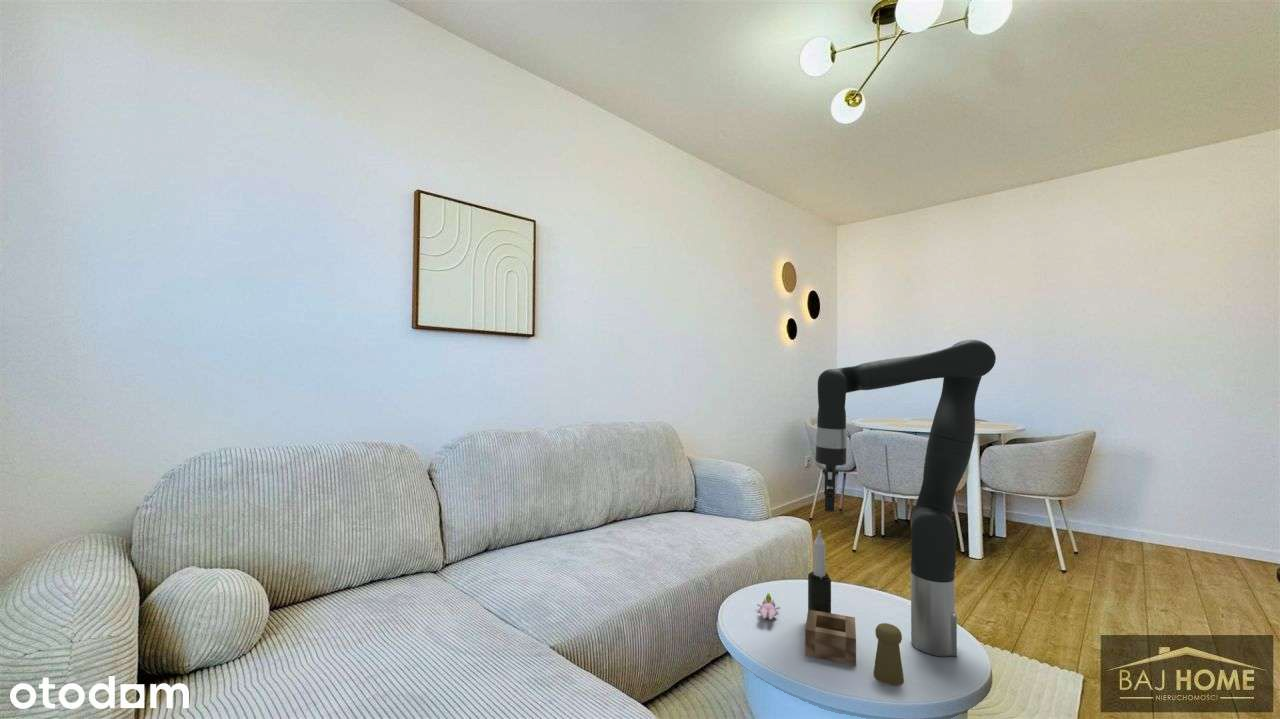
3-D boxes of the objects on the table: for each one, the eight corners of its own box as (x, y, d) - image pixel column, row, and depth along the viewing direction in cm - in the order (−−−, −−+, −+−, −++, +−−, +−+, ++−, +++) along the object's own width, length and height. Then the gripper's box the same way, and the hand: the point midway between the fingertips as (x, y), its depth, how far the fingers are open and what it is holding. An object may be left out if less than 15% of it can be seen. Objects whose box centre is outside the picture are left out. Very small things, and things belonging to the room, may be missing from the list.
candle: (826, 622, 136) (826, 527, 136) (832, 631, 131) (832, 533, 131) (807, 620, 136) (807, 526, 137) (811, 630, 131) (811, 532, 132)
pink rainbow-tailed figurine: (757, 608, 146) (754, 624, 132) (758, 586, 147) (755, 599, 133) (780, 611, 145) (779, 627, 130) (780, 589, 146) (780, 602, 132)
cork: (868, 669, 114) (867, 619, 114) (893, 668, 115) (893, 619, 115) (883, 686, 108) (883, 633, 108) (910, 685, 108) (910, 632, 109)
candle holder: (855, 642, 126) (854, 617, 126) (856, 665, 116) (856, 638, 116) (808, 633, 130) (808, 609, 130) (805, 655, 120) (805, 629, 120)
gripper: (846, 450, 126) (845, 516, 125) (846, 442, 139) (845, 502, 139) (814, 447, 128) (813, 512, 128) (817, 440, 142) (815, 499, 141)
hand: (829, 507), depth 133 cm, fingers open, 8 cm apart
